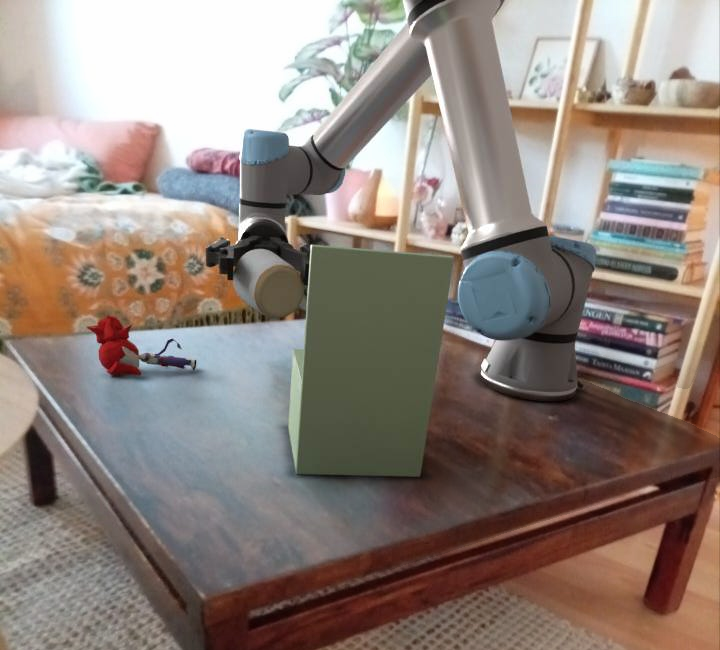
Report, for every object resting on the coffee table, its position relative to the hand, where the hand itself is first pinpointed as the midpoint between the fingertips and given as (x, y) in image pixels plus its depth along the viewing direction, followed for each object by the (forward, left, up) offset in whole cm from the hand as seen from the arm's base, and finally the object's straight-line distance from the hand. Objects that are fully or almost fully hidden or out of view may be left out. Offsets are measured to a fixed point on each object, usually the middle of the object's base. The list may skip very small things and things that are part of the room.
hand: (269, 271), depth 89 cm
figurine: (+17, -13, -15) cm, 26 cm away
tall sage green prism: (-10, +16, -17) cm, 25 cm away
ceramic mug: (-1, -4, -6) cm, 7 cm away
